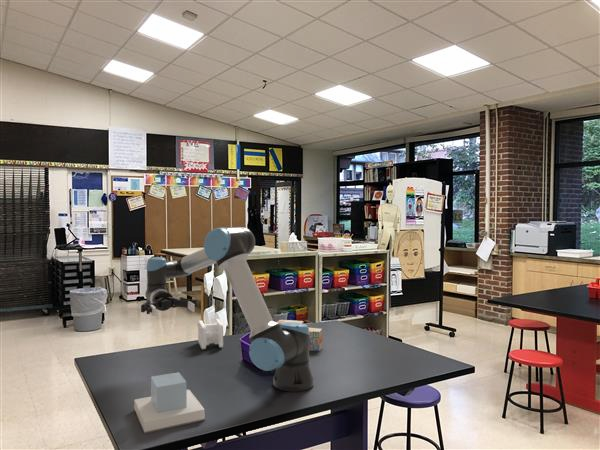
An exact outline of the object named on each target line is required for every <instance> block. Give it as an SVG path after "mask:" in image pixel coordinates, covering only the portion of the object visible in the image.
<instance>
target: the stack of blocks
mask: <svg viewBox="0 0 600 450" xmlns="http://www.w3.org/2000/svg"><path fill="white" fill-rule="evenodd" d="M276 322H277V323H282V322H295V323H302V324H305V321H304V320H291V319H290V320H289V319H279V320H278V321H276ZM309 334H310V335H309V352H320V351H321V350H322V349H323V328H316V327H309Z"/></svg>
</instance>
